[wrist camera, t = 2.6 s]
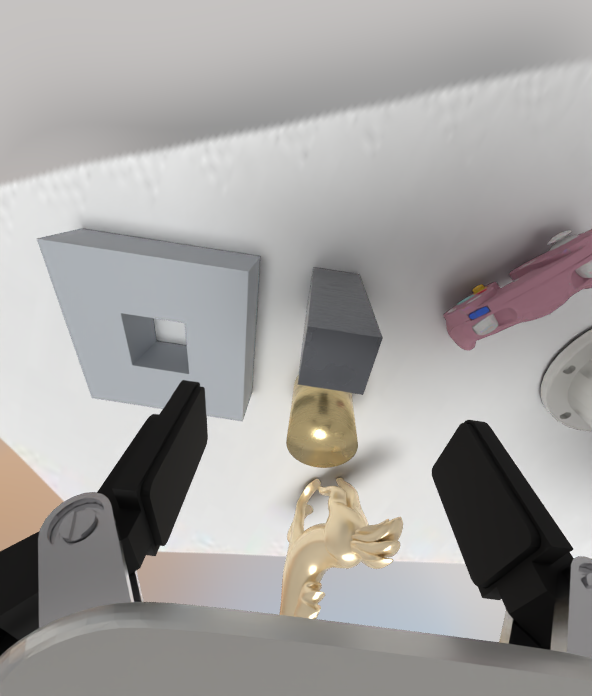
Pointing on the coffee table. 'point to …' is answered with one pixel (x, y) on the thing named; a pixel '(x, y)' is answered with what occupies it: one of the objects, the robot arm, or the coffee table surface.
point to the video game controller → (524, 291)
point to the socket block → (157, 316)
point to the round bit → (321, 426)
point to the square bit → (338, 333)
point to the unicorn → (331, 546)
